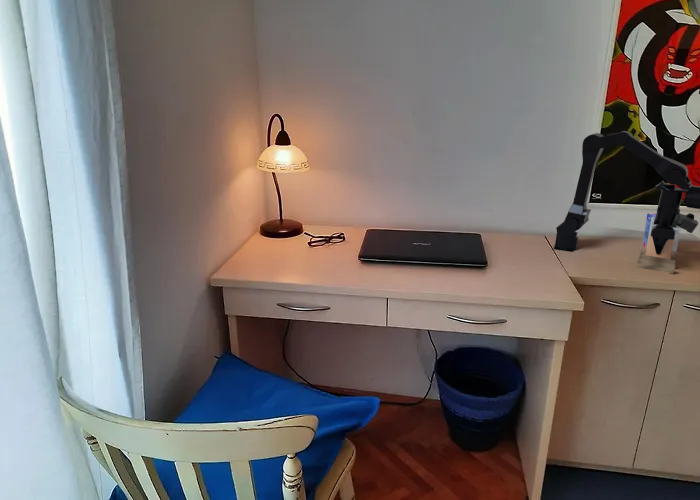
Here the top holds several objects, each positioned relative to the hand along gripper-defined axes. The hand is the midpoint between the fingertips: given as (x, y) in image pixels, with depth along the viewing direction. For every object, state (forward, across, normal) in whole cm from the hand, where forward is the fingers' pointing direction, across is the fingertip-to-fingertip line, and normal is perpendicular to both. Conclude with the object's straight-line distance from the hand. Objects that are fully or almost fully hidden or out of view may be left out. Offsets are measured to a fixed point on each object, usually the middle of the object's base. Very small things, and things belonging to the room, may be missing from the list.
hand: (658, 252), depth 170 cm
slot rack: (+4, -2, 0) cm, 5 cm away
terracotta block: (+2, 0, 0) cm, 2 cm away
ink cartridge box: (+4, +18, 0) cm, 18 cm away
